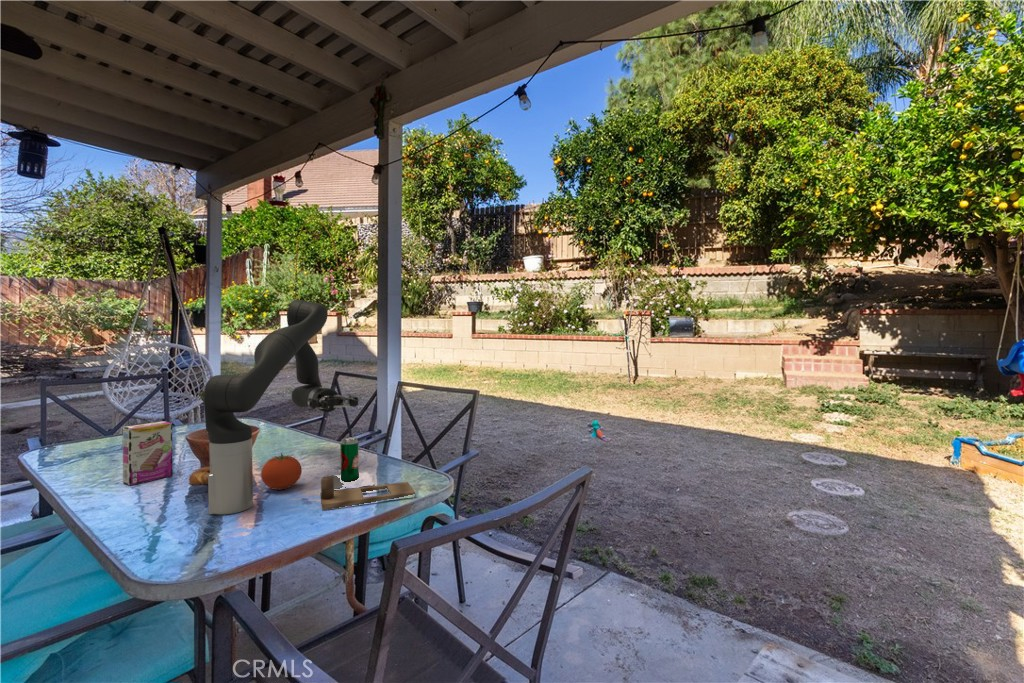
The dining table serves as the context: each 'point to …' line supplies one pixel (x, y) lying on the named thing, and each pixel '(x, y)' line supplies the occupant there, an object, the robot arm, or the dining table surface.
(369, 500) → the plane body
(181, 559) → the dining table surface
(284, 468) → the tomato
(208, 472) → the pretzel
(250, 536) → the dining table surface
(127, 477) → the candy bar box
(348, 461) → the soda can
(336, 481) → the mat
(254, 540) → the dining table surface
